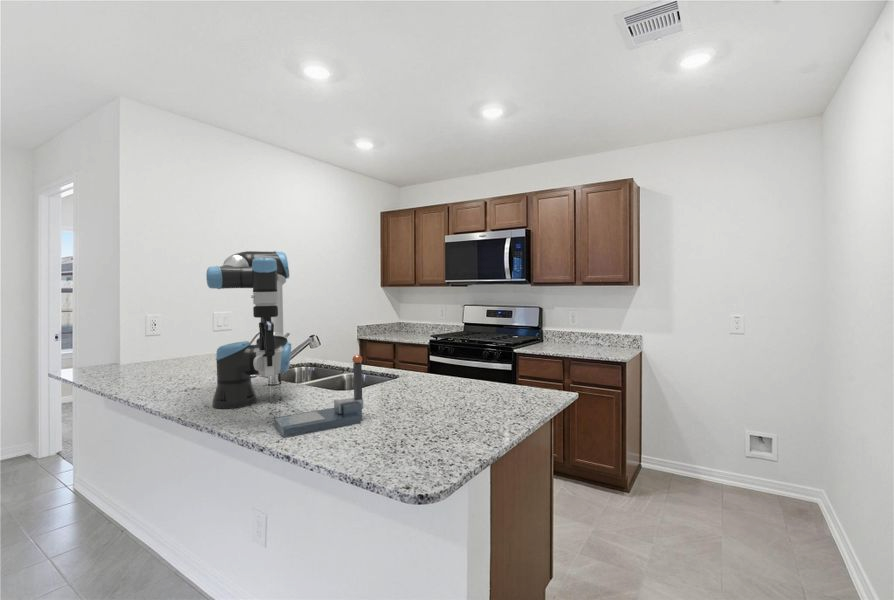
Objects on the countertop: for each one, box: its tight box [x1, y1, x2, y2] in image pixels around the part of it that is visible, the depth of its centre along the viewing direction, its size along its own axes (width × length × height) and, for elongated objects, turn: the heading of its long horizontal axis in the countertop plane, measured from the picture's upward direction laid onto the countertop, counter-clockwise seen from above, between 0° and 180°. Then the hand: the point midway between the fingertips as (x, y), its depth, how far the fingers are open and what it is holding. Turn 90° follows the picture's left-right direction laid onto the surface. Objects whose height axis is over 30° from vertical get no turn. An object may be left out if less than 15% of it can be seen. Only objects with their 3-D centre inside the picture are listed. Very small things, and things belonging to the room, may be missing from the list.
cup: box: [253, 349, 282, 377], centre depth 144 cm, size 11×8×8 cm
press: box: [273, 402, 363, 439], centre depth 143 cm, size 14×26×6 cm, turn 122°
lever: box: [333, 354, 364, 414], centre depth 148 cm, size 5×9×18 cm, turn 123°
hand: (267, 374), depth 145 cm, fingers closed on cup, 7 cm apart
